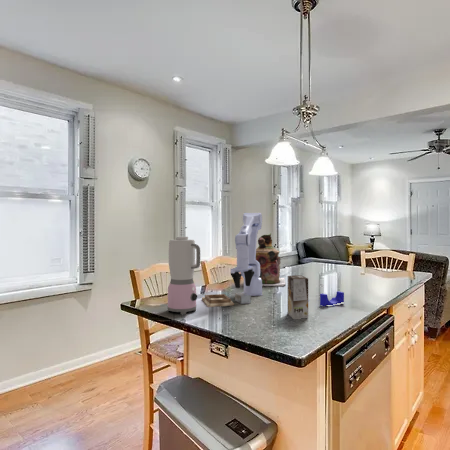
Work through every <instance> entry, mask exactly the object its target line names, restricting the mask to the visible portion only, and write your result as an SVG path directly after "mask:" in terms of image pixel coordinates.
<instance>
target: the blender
mask: <svg viewBox="0 0 450 450" xmlns="http://www.w3.org/2000/svg"><path fill="white" fill-rule="evenodd" d="M195 243H196V241H195V240H194V239H189V237H188V236H176V237H175V239H170V240H169V241H168V268H169V274H170V281H169V284H168V287H167V312H168V311H170V312H175V313H180V315H181V314H185V315H187V312H192V311H193V312H195V311H196V312H197V298H198V295H197V286H196V284H195V281H194V275H195V274H194V273H195V270H196V269H199V268H200V266H201V247H200V246H199V245H198V244H195Z"/></svg>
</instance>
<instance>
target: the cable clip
mask: <svg viewBox="0 0 450 450" xmlns="http://www.w3.org/2000/svg"><path fill="white" fill-rule="evenodd" d="M341 302H344V303H345V292H343V291H340V290H339V291H336V294H335V296H334V297H331V299H330V300H329V296H328V294H327V293H323V292H322V293H319V306H320V305H323V306H326V305H333V304H337V303H341ZM326 307H327V306H326Z"/></svg>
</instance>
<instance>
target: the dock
mask: <svg viewBox="0 0 450 450" xmlns="http://www.w3.org/2000/svg"><path fill="white" fill-rule="evenodd" d="M201 300H202V301H203V302H204V304H205V305H206V306H207V307H208V308H213V307H214V308H215V307H227V306H229V307H230V306H235V302H233V301H232V299H231V298H230V297H229V296H228V295H227V294H225V293H219V294H217V293H216V294H205V295H204V296H202V297H201Z"/></svg>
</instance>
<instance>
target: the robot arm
mask: <svg viewBox="0 0 450 450" xmlns="http://www.w3.org/2000/svg"><path fill="white" fill-rule="evenodd" d="M242 222H243V225H241V227H240V229H239V232H238V233H237V234H236V235H235V237H234V243H235V249H236V267H233V268H230V276H231V277H232V279H233V283H234V287H235V288H237V289H240V287H241V278H243V292H240V293H246V294H249V295H251V297H253V296H254V297H257V296H263V295H264V294H263V286H262V280H261V278H258V277H259V276H260V263H259V262H258V261H257V260H255V259H256V249H257V244H258V234H259V230H261V229H262V226H263V215H262V212H244V213H243V214H242Z"/></svg>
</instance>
